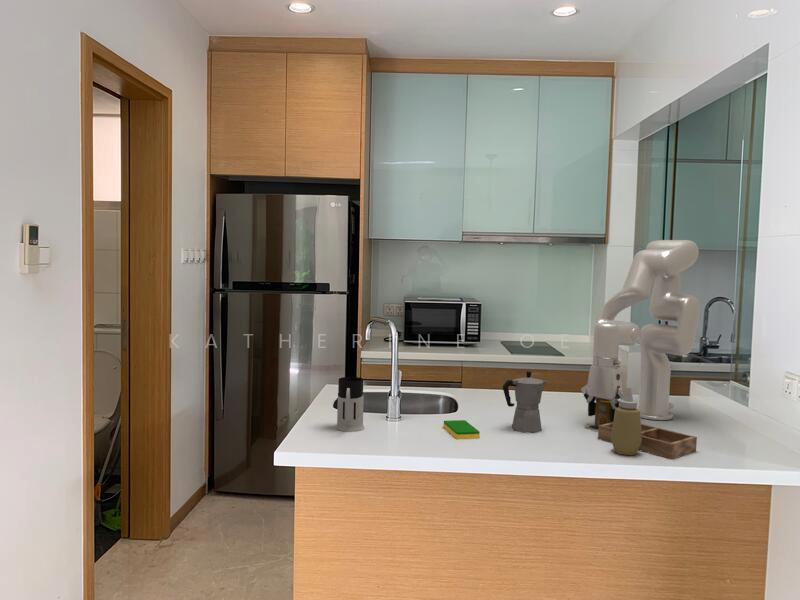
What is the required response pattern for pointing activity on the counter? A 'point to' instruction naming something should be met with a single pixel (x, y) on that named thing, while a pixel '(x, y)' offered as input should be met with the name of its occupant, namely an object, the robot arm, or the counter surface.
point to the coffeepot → (526, 402)
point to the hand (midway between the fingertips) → (602, 417)
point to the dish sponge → (461, 429)
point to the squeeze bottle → (626, 426)
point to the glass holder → (350, 404)
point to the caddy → (657, 440)
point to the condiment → (601, 413)
